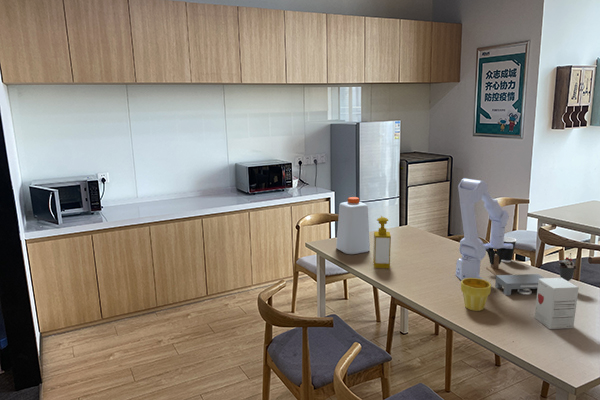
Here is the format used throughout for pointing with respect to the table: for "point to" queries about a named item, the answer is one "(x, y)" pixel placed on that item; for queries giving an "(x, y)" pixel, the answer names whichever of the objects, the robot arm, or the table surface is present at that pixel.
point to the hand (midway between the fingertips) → (495, 263)
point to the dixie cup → (509, 253)
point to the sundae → (567, 269)
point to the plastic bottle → (353, 227)
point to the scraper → (497, 267)
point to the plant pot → (475, 293)
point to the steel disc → (524, 291)
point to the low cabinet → (517, 282)
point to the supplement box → (556, 303)
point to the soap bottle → (382, 246)
